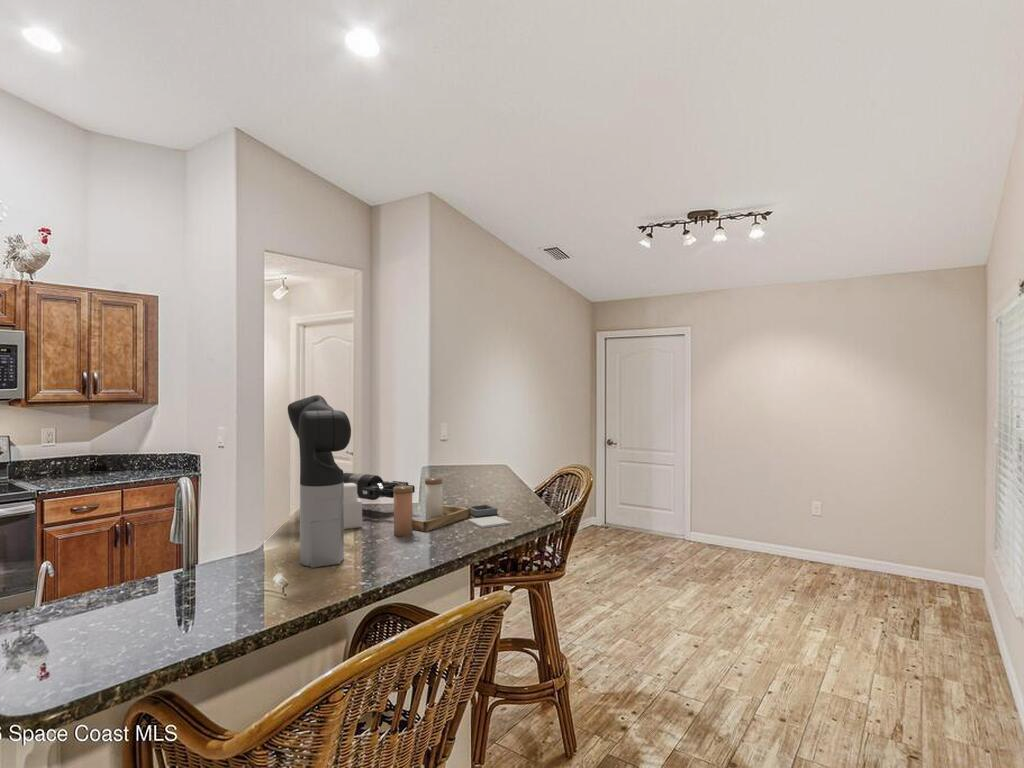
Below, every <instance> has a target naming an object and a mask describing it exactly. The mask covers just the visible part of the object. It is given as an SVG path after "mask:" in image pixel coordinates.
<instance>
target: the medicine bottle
mask: <svg viewBox="0 0 1024 768" xmlns="http://www.w3.org/2000/svg"><path fill="white" fill-rule="evenodd" d="M357 497H358V484H357V483H355V482H344V530H350V529H356V528H357V529H359V528H362V527H363V502H362V500H360V498H357Z"/></svg>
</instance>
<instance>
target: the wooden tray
mask: <svg viewBox="0 0 1024 768" xmlns="http://www.w3.org/2000/svg"><path fill="white" fill-rule="evenodd" d="M442 507H443V516H440V517H437V518H434V519H431V520H427V521H426V520H422V519H415V518H412V530H413V529H414V530H415V531H419V530H420V531H421V532H425V531H427V532H429V530H430V531H433V530H435V528H436V529H439V528H442V527H445V526H447V525H446V524H448V525H450V524H449V523H451V524H453V523H452V522H454V523H456V522H455V521H457V522H459V520H460V521H462V519H463V520H465V518H466V519H469V518H471V515H470V508H466V507H464V506H463V507H461V506H454V505H448V504H447V505H446V504H444V505H442ZM446 514H447V515H446ZM468 517H469V518H468ZM444 525H445V526H444ZM441 526H442V527H441ZM438 527H439V528H438ZM432 529H433V530H432Z"/></svg>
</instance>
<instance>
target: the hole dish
mask: <svg viewBox="0 0 1024 768" xmlns="http://www.w3.org/2000/svg"><path fill="white" fill-rule="evenodd" d="M465 508H470V516H471V515H472V516H471V517H474V518H482V517H491V516H498V508H497V507H495V506H492V505H490V504H488V503H486V504H478V505H469V506H465Z"/></svg>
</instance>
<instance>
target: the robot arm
mask: <svg viewBox="0 0 1024 768" xmlns="http://www.w3.org/2000/svg"><path fill="white" fill-rule="evenodd" d="M287 415H288V419H289V421H290V424H291V426H292V428H293V431H294V433H295V435H296V436H297V438H298V445H299V472H300V473H299V563H300V564H301V565H302V566H304V567H305V566H306V567H310V568H312V569H314V568H319V567H327V566H332V565H340V564H341V563H342V561H343V560H344V559H345V558H344V557H345V554H344V553H345V548H344V547H345V541H344V538H345V535H344V534H345V533H344V532H345V531H344V530H345V529H344V482H355V483H357V484H358V497H357V498H358V499H364V500H368V501H369V500H370V501H376V500H378V499H379V498H381V499H382V498H391V499H394V493H393V487H396V486H412V487H413V492H412V494H413V493H415V489H416V488H415V485H412V484H409V482H408V481H406V482H405V481H396V480H393V481H388V480H387V481H385V480H383V478H382V477H381V476H380V475H376V474H367V473H352V472H344V471H343V469H341V467H339V465H338V464H337V463H336V461H335V458H334V455H333V452H340V451H343V450H345V449H346V448H347V447H348V445H349V443H350V441H351V437H352V427H351V425H352V424H351V422H350V418H349V417H348V415H347V414H346V412H344V411H343V410H336V409H334V408H333V407H332V406H330V405H329V404H328V402H327V400H326V399H325V398H324V397H323V396H322V395H320V394H319V395H318V394H317V395H312V396H311V395H310V396H309V397H305V398H301V399H299V400H295V401H292V402H291V403H289V404H288V406H287Z"/></svg>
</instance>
